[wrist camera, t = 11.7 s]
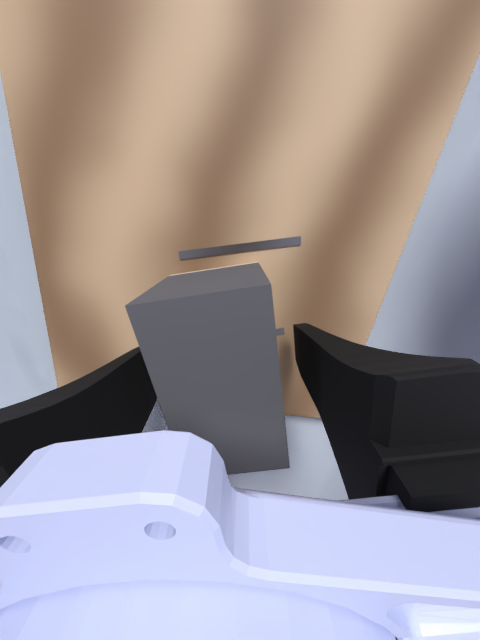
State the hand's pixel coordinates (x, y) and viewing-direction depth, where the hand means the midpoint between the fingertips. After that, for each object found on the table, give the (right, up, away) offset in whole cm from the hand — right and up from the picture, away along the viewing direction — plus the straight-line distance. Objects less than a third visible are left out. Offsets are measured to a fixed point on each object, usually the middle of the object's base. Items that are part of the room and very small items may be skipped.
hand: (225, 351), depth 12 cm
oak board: (0, +7, 0) cm, 7 cm away
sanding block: (0, +1, +1) cm, 1 cm away
